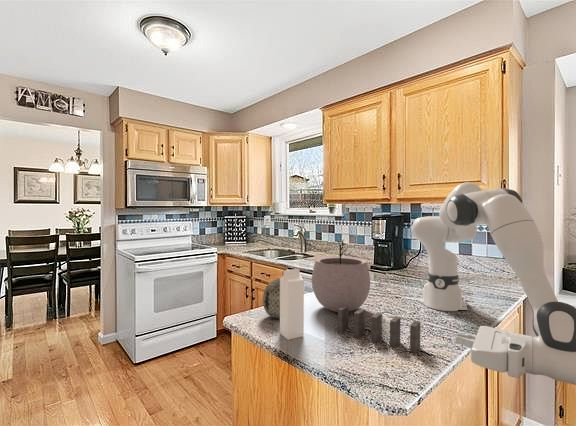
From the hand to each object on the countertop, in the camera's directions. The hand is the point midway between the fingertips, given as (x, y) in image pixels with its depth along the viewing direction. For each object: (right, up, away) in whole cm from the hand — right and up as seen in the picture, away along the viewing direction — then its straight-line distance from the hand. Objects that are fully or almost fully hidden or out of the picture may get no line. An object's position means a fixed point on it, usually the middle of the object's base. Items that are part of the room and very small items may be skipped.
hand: (456, 337), depth 88 cm
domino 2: (-23, -6, +18) cm, 30 cm away
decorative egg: (-51, -6, +34) cm, 62 cm away
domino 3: (-18, -6, +14) cm, 24 cm away
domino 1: (-28, -6, +21) cm, 36 cm away
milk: (-46, -6, +17) cm, 50 cm away
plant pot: (-25, -6, +43) cm, 50 cm away
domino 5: (-9, -6, +7) cm, 13 cm away
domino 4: (-14, -6, +10) cm, 18 cm away
